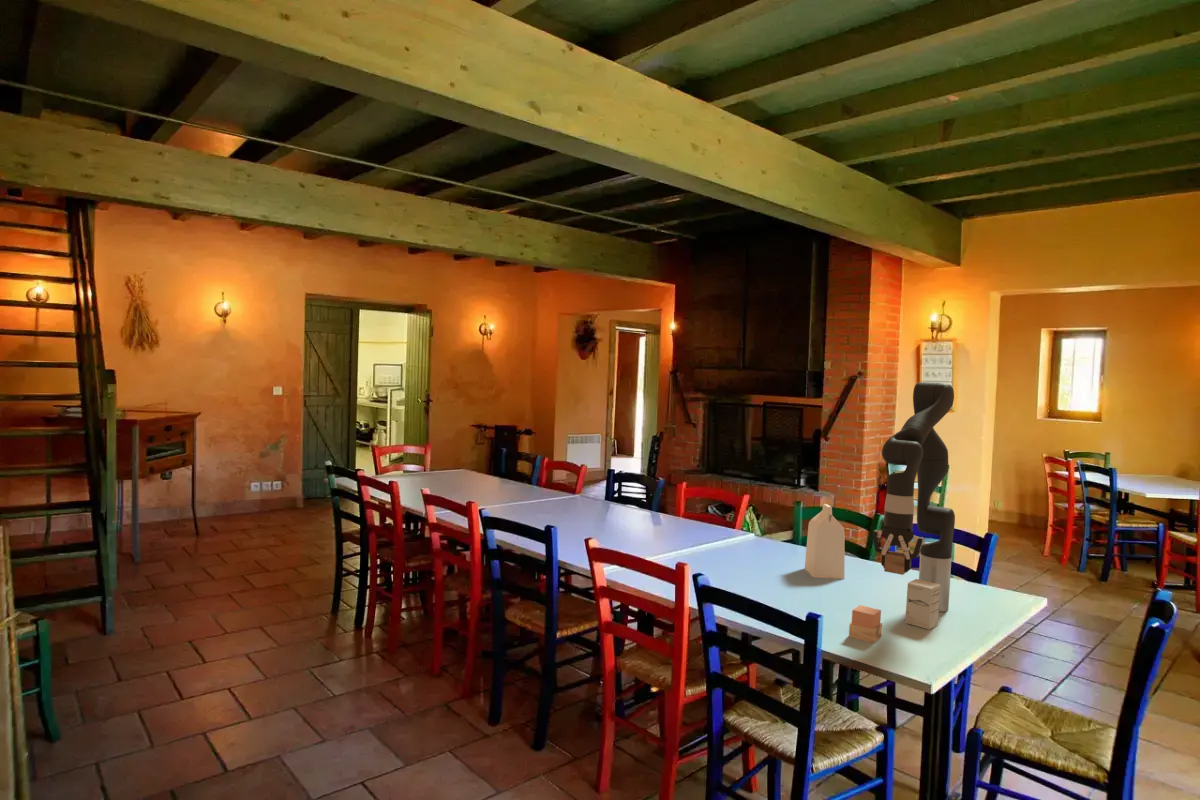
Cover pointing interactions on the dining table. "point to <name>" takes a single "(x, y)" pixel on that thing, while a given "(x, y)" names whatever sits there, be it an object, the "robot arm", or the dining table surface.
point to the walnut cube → (895, 562)
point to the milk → (825, 546)
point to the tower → (866, 616)
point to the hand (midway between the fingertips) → (895, 569)
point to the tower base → (865, 632)
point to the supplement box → (922, 604)
